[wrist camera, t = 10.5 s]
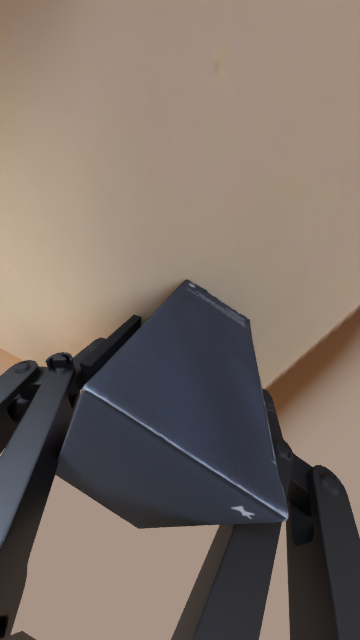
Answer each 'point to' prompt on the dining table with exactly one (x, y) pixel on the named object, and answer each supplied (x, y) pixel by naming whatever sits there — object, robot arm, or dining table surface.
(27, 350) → the dining table surface
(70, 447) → the small box
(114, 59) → the dining table surface
